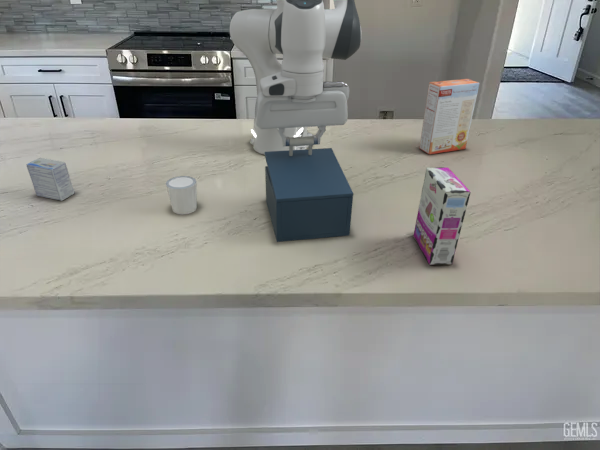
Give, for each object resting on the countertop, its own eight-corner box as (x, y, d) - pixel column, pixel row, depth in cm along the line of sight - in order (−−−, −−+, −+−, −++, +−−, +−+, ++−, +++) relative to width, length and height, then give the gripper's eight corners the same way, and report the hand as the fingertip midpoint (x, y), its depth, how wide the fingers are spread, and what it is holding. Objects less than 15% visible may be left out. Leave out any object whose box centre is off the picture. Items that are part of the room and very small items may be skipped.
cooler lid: (264, 154, 102) (264, 134, 99) (331, 150, 105) (333, 130, 102) (276, 202, 88) (276, 180, 85) (353, 196, 91) (356, 174, 88)
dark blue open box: (266, 201, 108) (265, 166, 103) (329, 197, 111) (331, 162, 106) (276, 242, 93) (276, 202, 88) (349, 235, 96) (353, 196, 91)
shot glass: (192, 217, 101) (189, 190, 98) (164, 213, 102) (160, 186, 99) (203, 203, 107) (201, 177, 103) (177, 200, 108) (173, 174, 104)
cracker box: (454, 143, 144) (467, 77, 133) (466, 149, 140) (481, 82, 129) (417, 148, 140) (428, 80, 129) (428, 155, 135) (441, 85, 124)
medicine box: (75, 193, 110) (66, 161, 105) (61, 201, 106) (51, 168, 102) (50, 188, 112) (40, 156, 107) (36, 196, 108) (25, 163, 104)
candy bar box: (453, 265, 87) (472, 191, 79) (429, 266, 87) (445, 192, 78) (434, 234, 97) (449, 165, 88) (412, 235, 96) (425, 166, 88)
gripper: (346, 77, 96) (341, 136, 104) (252, 79, 93) (254, 141, 101) (354, 85, 91) (349, 147, 99) (255, 88, 88) (257, 152, 95)
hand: (300, 144), depth 100 cm, fingers closed on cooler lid, 5 cm apart
